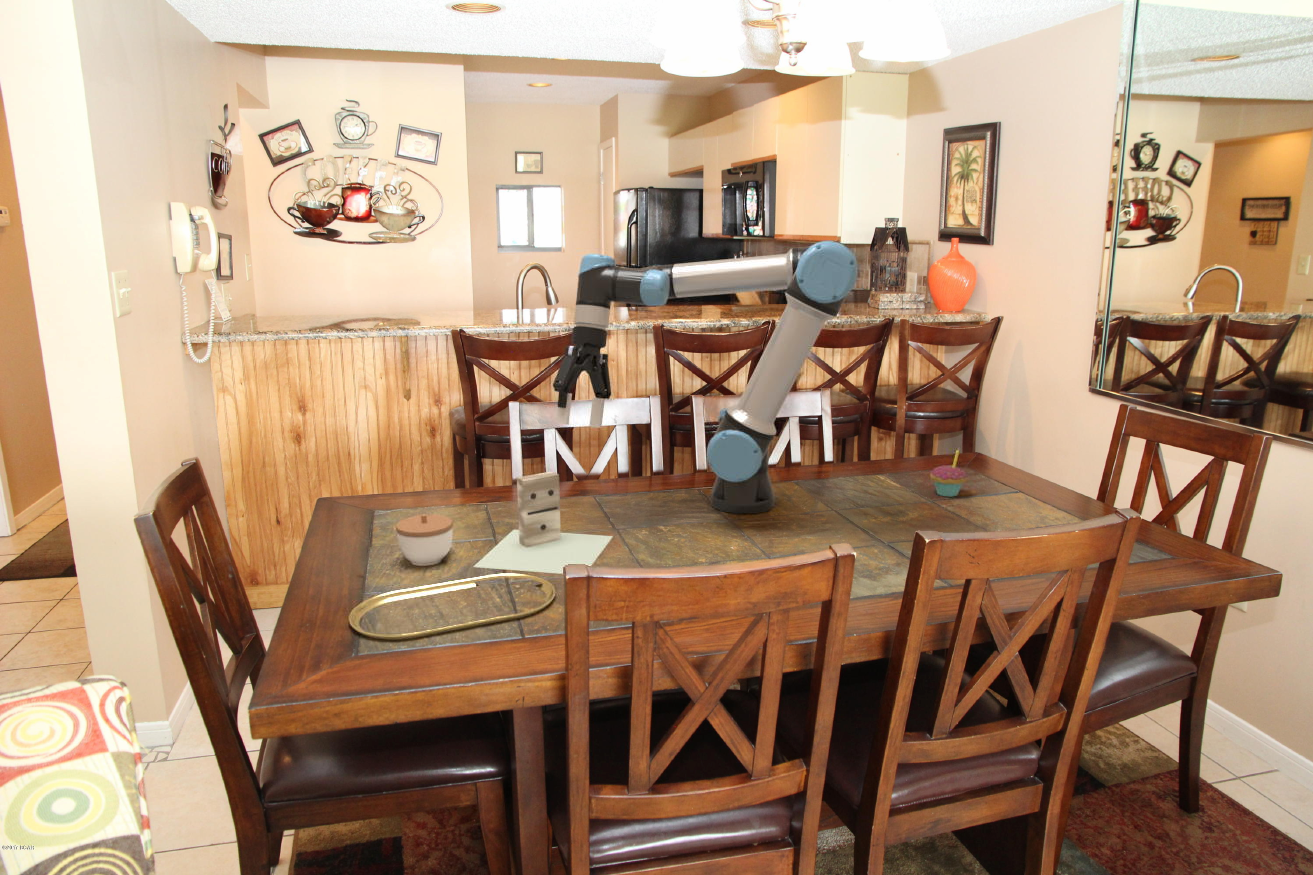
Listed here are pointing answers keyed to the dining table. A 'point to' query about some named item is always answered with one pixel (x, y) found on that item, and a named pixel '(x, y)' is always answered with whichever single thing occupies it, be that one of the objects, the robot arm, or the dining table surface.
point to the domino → (538, 508)
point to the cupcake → (948, 478)
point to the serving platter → (439, 588)
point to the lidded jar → (425, 538)
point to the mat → (544, 553)
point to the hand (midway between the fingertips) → (579, 425)
